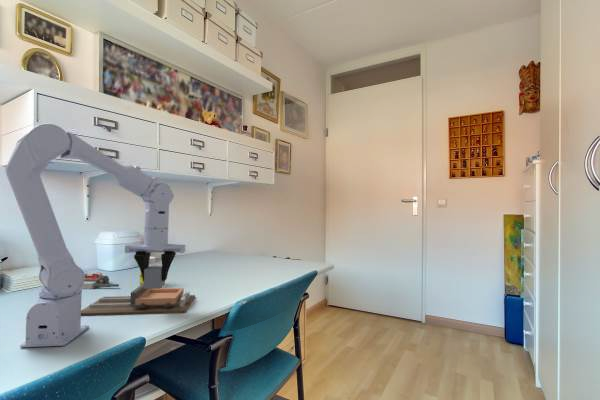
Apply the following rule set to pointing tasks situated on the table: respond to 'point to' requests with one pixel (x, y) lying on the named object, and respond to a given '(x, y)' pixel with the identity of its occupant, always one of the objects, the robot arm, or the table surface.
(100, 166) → the robot arm
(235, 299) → the table surface
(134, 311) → the track
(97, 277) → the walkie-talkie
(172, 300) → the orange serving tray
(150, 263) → the supplement bottle
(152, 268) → the block
